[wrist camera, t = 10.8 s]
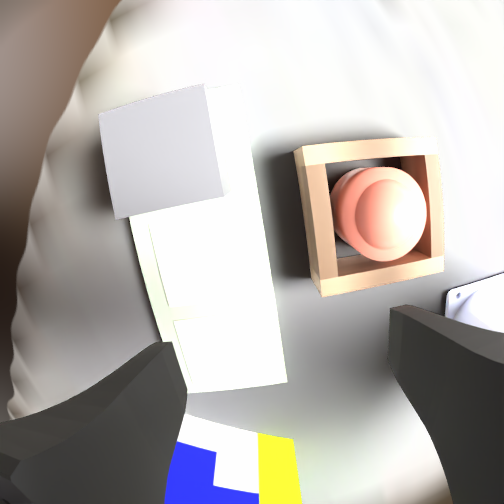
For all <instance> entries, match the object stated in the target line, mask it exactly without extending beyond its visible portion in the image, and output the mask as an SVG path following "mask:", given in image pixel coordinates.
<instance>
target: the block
mask: <svg viewBox="0 0 504 504" xmlns="http://www.w3.org/2000/svg"><path fill="white" fill-rule="evenodd" d="M98 117H99V125H100V133H101V141H102V148H103V155H104V161H105V167H106V173H107V179H108V184H109V190H110V195H111V200H112V205H113V210H114V214H115V219H116V220H118V219H122V218H127V217H131V216H135V215H140V214H144V213H149V212H153V211H158V210H162V209H167V208H172V207H176V206H181V205H186V204H191V203H196V202H201V201H206V200H212V199H217V198H222V197H225V196H226V195H227V194H229V193H230V192H231V191H232V190H231V185H230V179H229V174H228V168H227V163H226V157H225V151H224V146H223V140H222V134H221V129H220V123H219V117H218V112H217V107H216V105H215V103H214V101H213V100H212V98H211V96H210V94H209V92H208V90H207V88H206V86H205V84H200V85H196V86H191V87H187V88H183V89H179V90H175V91H171V92H167V93H163V94H160V95H156V96H153V97H149V98H146V99H142V100H139V101H136V102H133V103H130V104H127V105H124V106H121V107H118V108H115V109H112V110H109V111H106V112H103V113H101V114H98Z"/></svg>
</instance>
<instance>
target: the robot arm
mask: <svg viewBox="0 0 504 504" xmlns="http://www.w3.org/2000/svg"><path fill="white" fill-rule="evenodd" d="M457 293H458V295H457ZM456 295H457V296H456ZM388 361H389V364H390V366H391V368H392V371H393V373H394V375H395V377H396V380H397V382H398V383H399V385H400V387H401V388H402V390H403V391H404V393H405V395H406V396H407V398H408V399H409V401H410V403H411V404H412V406H413V407H414V409H415V411H416V412H417V414H418V416H419V417H420V419H421V420H422V422H423V424H424V425H425V427H426V429H427V431H428V433H429V435H430V437H431V439H432V441H433V444H434V446H435V449H436V451H437V453H438V456H439V459H440V461H441V464H442V467H443V470H444V473H445V476H446V479H447V482H448V486H449V489H450V493H451V496H452V500H453V504H504V273H503V274H500V275H497V276H494V277H491V278H488V279H485V280H482V281H478V282H475V283H472V284H469V285H465V286H462V287H458V288H455V289H452V290H450V291H449V292H448V294H447V298H446V310H445V317H444V316H441V315H438V314H436V313H433V312H430V311H427V310H424V309H421V308H418V307H414V306H411V305H402V306H398V307H393V308H390V325H389V345H388ZM187 391H188V388H187V386H186V383H185V380H184V377H183V374H182V371H181V368H180V365H179V362H178V359H177V356H176V352H175V349H174V346H173V343H172V341H169V342H155V343H154V344H152V345H150V346H148V347H147V348H146V349H144V350H143V351H141V352H140V353H139V354H137V355H136V356H134V357H133V358H132V359H130V360H129V361H128V362H126V363H125V364H124V365H122V366H121V367H120V368H118V369H117V370H116V371H114V372H113V373H111V374H110V375H108V376H107V377H105V378H104V379H102V380H101V381H99V382H98V383H96V384H95V385H93V386H92V387H90V388H89V389H87V390H85V391H83V392H82V393H80V394H78V395H76V396H74V397H72V398H70V399H69V400H67V401H64V402H62V403H60V404H58V405H55V406H53V407H50V408H48V409H45V410H43V411H41V412H38V413H35V414H32V415H29V416H26V417H22V418H18V419H15V420H11V421H6V422H1V423H0V504H164V503H165V494H166V486H167V478H168V473H169V468H170V464H171V460H172V457H173V453H174V450H175V446H176V443H177V439H178V436H179V432H180V429H181V425H182V422H183V418H184V414H185V408H186V400H187Z"/></svg>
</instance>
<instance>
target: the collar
mask: <svg viewBox="0 0 504 504" xmlns="http://www.w3.org/2000/svg"><path fill="white" fill-rule="evenodd" d="M399 156H400V161H401V169H402V171H404V172H405V173H407V174H408V175H410V176H411V177H412V178H413V179H414V180H415V181H416V183H417V184H418V185H419V187H420V189H421V191H422V193H423V196H424V199H425V203H426V223H425V227H424V230H423V233H422V235H421V237H420V239H419V241H418V242H417V244H416V245H415V246H414V247H413V248H412V249H411V250H410V251H409V252H408V253H407V254H405V255H404V256H402V257H400V258H398V259H395V260H391V261H376V260H373V259H370V258H368V257H366V256H364V255H363V254H360V255H355V256H349V257H344V258H338V259H337V258H336V247H335V238H334V229H333V220H332V212H331V204H330V196H329V189H328V182H327V175H326V168H325V164H326V163H334V162H343V161H353V160H363V159H374V158H386V157H399ZM294 157H295V163H296V170H297V176H298V182H299V189H300V195H301V202H302V209H303V216H304V223H305V231H306V239H307V246H308V254H309V263H310V271H311V279H312V280H313V282H314V284H315V286H316V288H317V289H318V291H319V293H320V295H321V297H326V296H332V295H337V294H342V293H347V292H352V291H357V290H362V289H367V288H372V287H377V286H381V285H386V284H391V283H395V282H400V281H404V280H409V279H413V278H417V277H422V276H426V275H430V274H434V273H438V272H442V271H444V213H443V196H442V184H441V173H440V164H439V156H438V149H437V142H436V137H409V138H387V139H371V140H357V141H345V142H335V143H325V144H316V145H307V146H301V147H300V148H298V149H296V150H294Z"/></svg>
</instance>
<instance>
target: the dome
mask: <svg viewBox="0 0 504 504" xmlns="http://www.w3.org/2000/svg"><path fill="white" fill-rule="evenodd" d="M330 204H331V212H332V220H333V229H334V230H335V232H336V233H337V234H338V236H339V237H340V238H341V239H343V240H344V241H345V242H346V243H348V244H349V245H350V246H352V247H353V248H354V249H356V250H357V251H358V252H360V253H361V254H363V255H364V256H366V257H368V258H370V259H373V260H376V261H391V260H395V259H398V258H400V257H402V256H404V255H405V254H407V253H408V252H409V251H410V250H411V249H412V248H413V247H414V246H415V245H416V244H417V242H418V241H419V239H420V237H421V235H422V233H423V230H424V227H425V223H426V203H425V199H424V196H423V193H422V191H421V189H420V187H419V185H418V184H417V183H416V181H415V180H414V179H413V178H412V177H411V176H410V175H408V174H407V173H405V172H404V171H401V170H399V169H396V168H391V167H370V168H358V169H354V170H352V171H350V172H348V173H346V174H345V175H343V176H342V177H341V178H340V179H339V180H338V182H337V183H336V184H335V186H334V188H333V190H332V192H331V195H330Z"/></svg>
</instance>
